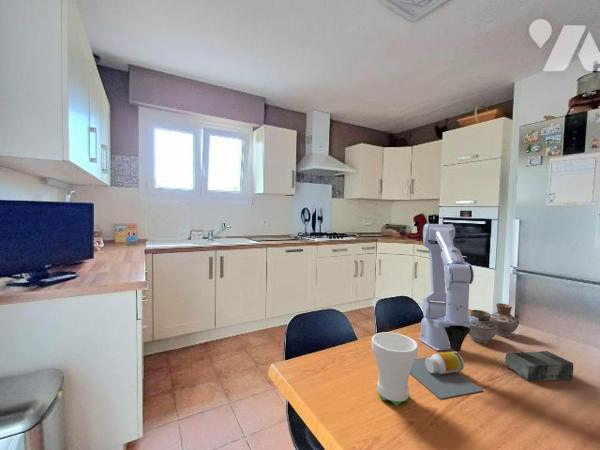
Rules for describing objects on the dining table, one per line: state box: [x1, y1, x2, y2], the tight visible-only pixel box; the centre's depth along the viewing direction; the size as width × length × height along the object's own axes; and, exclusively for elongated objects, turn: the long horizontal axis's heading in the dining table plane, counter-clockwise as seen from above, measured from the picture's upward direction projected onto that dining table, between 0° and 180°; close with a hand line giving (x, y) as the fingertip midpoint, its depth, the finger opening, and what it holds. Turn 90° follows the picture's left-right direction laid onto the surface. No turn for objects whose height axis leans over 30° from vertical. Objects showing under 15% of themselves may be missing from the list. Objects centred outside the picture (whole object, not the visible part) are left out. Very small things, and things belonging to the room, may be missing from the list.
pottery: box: [467, 302, 520, 344], centre depth 107 cm, size 11×25×12 cm, turn 114°
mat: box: [409, 356, 484, 400], centre depth 80 cm, size 18×14×1 cm
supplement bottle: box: [425, 350, 465, 374], centre depth 81 cm, size 5×5×10 cm
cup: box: [371, 331, 419, 406], centre depth 70 cm, size 11×11×14 cm
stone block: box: [505, 350, 574, 382], centre depth 83 cm, size 9×14×5 cm, turn 95°
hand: (455, 349), depth 81 cm, fingers closed
